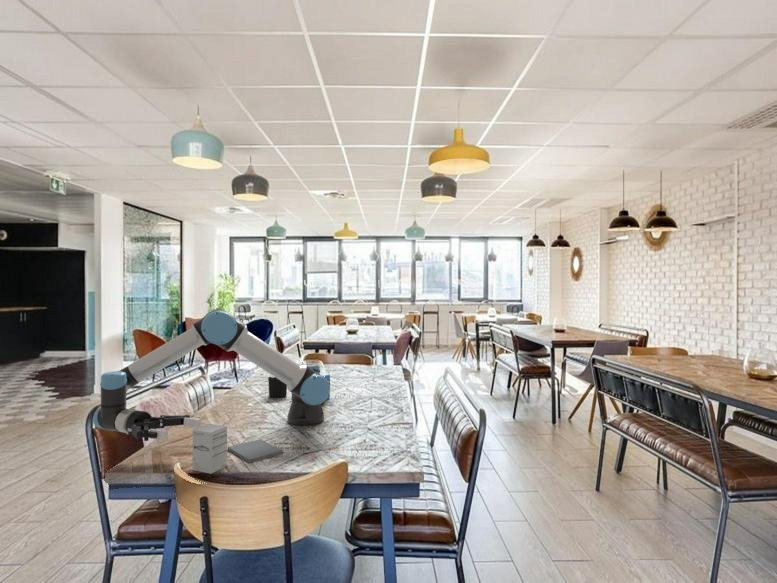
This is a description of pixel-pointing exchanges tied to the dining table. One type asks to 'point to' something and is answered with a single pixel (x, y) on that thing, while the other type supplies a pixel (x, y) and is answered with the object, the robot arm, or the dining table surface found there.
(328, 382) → the label tape box
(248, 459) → the slate mat
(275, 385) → the pen holder
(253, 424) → the dining table surface
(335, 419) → the dining table surface
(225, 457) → the supplement box
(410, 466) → the dining table surface
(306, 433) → the dining table surface
